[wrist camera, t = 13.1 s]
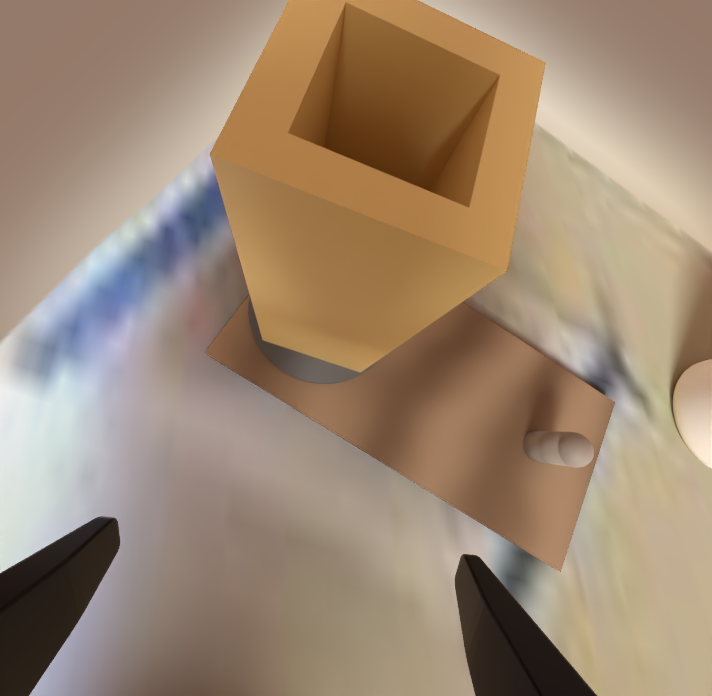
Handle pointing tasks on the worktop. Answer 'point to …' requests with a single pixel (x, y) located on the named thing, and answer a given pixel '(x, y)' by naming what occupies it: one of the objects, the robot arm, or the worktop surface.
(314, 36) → the sleeve
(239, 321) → the board
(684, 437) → the mug
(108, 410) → the worktop surface
